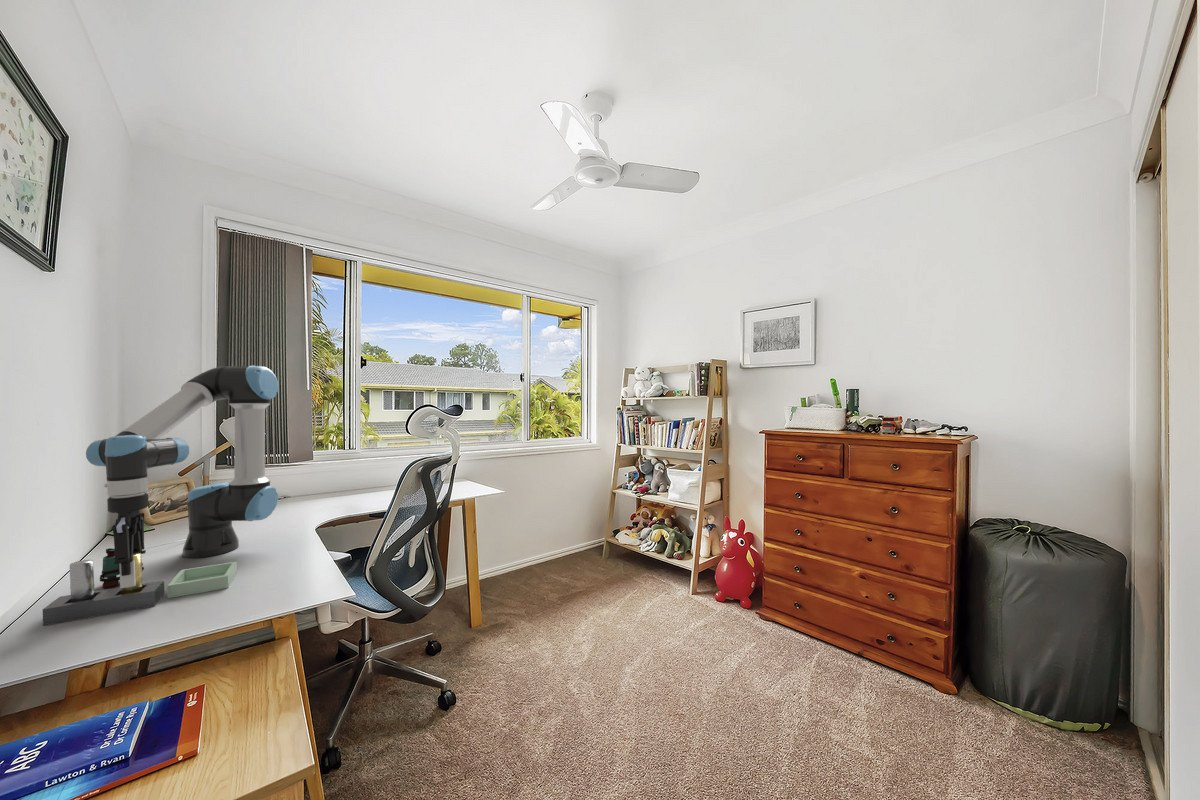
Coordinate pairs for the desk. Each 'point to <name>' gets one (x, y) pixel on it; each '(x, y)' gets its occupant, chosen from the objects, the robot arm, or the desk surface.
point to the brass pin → (137, 576)
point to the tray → (202, 579)
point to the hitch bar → (103, 603)
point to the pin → (82, 580)
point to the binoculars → (110, 570)
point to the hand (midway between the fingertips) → (131, 583)
